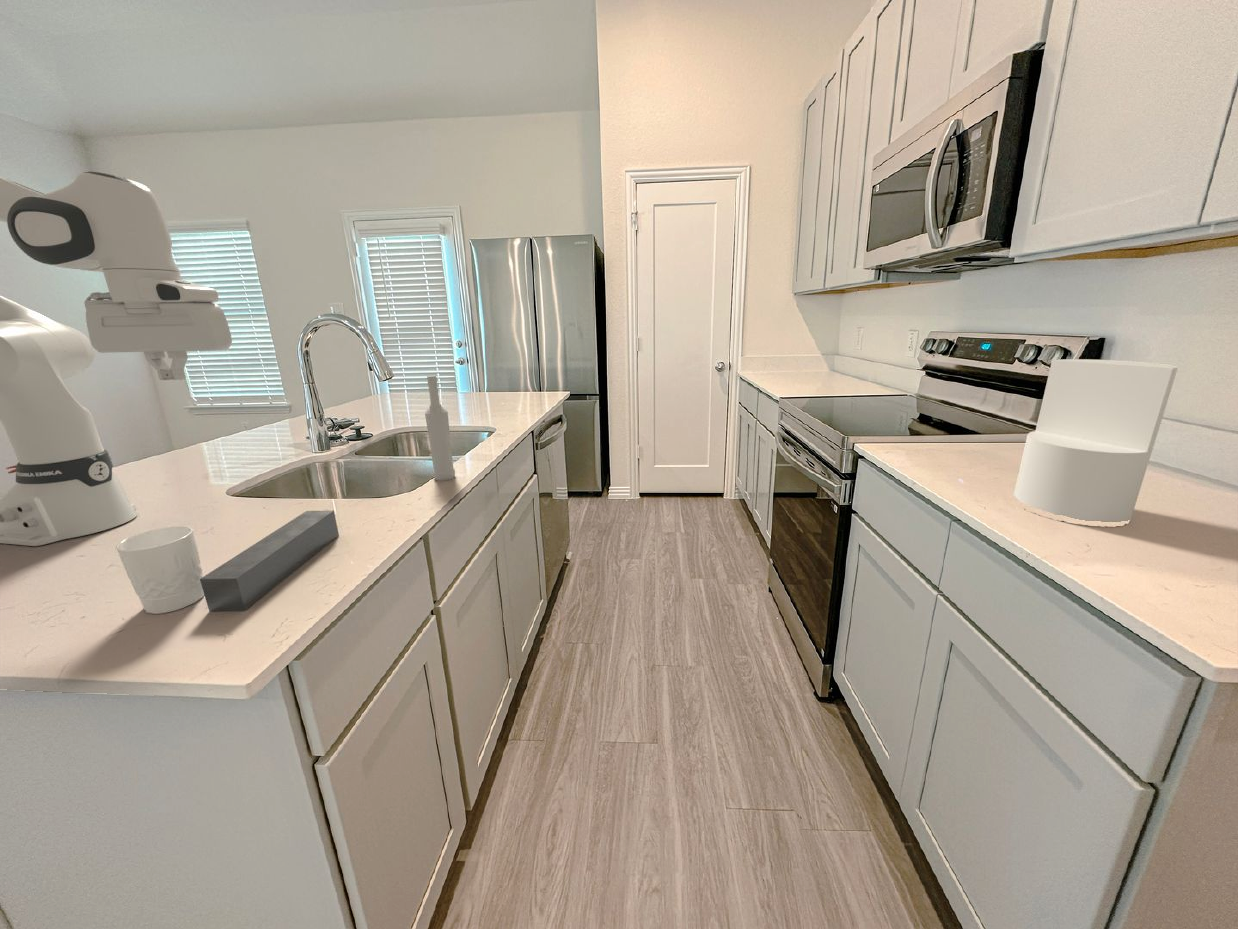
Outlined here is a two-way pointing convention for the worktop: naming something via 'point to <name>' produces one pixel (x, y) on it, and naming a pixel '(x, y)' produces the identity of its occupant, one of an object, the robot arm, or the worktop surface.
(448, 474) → the bottle
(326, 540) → the long dark grey beam
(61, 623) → the worktop surface
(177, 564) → the white cup
